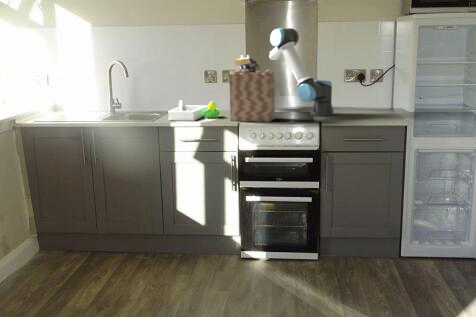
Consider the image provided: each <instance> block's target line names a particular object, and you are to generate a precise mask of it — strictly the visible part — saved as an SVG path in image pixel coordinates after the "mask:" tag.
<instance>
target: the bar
mask: <svg viewBox="0 0 476 317" xmlns="http://www.w3.org/2000/svg"><path fill="white" fill-rule="evenodd" d="M234 63H235V64H234V66H240V65H244V64H248V63H249V62H248V60H247V57H244V58H241V57H240V58H237V59H235V60H234Z"/></svg>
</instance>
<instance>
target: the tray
mask: <svg viewBox="0 0 476 317" xmlns="http://www.w3.org/2000/svg"><path fill="white" fill-rule="evenodd" d="M185 105H186V104H185ZM182 107H183V106H182ZM186 108H187V109H188V111H184V109H183V111H180V110H179V107H176V108H173V109H171V110H168V111H167V112H168V114H167V115H168V121H175V122H176V121H179V122H181V121H182V122H183V121H185V122H194V121H196V120H197V121H198V119H201V118H203V117H204V115H203V111H202V110H206V109H208V105H188V104H187V105H186Z"/></svg>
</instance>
